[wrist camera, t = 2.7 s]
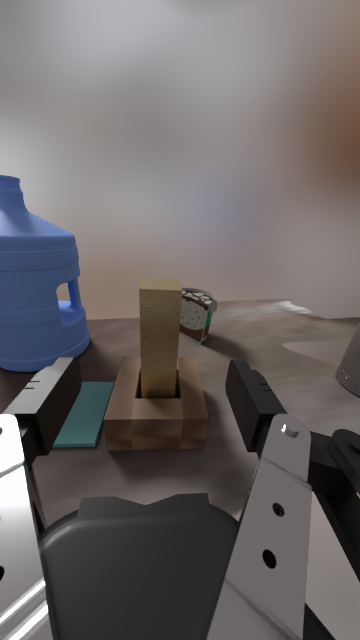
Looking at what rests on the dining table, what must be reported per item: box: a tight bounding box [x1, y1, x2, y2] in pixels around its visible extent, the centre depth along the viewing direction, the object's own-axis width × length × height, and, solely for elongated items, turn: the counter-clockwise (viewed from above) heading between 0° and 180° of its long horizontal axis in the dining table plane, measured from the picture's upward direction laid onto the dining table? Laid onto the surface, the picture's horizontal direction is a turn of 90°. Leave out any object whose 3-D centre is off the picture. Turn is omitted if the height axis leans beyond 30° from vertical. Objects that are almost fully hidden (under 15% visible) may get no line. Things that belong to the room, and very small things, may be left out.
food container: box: [179, 288, 217, 345], centre depth 48 cm, size 12×6×10 cm, turn 44°
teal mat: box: [52, 382, 114, 448], centre depth 28 cm, size 10×10×1 cm
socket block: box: [103, 357, 209, 451], centre depth 28 cm, size 11×11×5 cm
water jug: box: [0, 175, 90, 372], centre depth 35 cm, size 16×16×28 cm
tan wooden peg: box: [139, 278, 182, 399], centre depth 25 cm, size 4×4×18 cm
